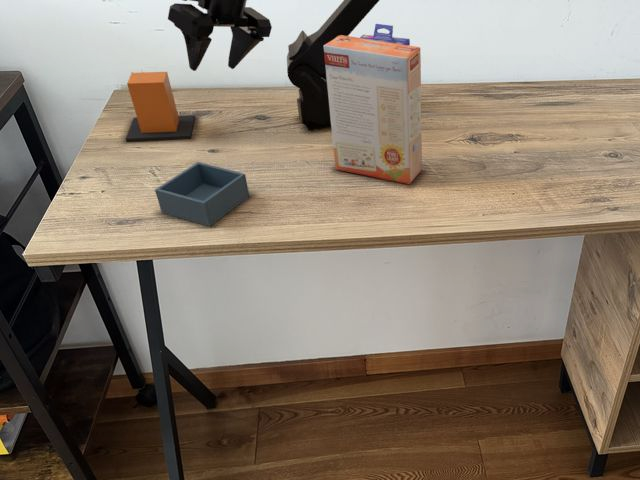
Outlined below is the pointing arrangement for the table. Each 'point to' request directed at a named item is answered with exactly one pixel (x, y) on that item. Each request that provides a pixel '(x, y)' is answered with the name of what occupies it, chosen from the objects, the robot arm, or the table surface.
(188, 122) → the mat
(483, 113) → the table surface
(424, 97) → the table surface
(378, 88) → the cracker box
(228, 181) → the tote
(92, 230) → the table surface
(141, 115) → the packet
